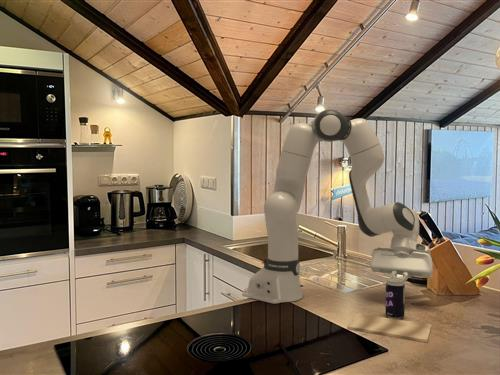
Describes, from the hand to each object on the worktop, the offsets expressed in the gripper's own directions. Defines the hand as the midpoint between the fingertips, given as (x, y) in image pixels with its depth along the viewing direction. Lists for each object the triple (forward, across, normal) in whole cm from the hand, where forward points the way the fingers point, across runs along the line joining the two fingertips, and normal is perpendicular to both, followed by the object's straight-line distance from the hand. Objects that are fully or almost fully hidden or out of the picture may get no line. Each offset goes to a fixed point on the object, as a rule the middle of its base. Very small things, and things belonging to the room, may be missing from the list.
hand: (398, 284), depth 143 cm
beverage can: (+12, 0, +1) cm, 12 cm away
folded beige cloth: (+18, 0, -7) cm, 20 cm away
